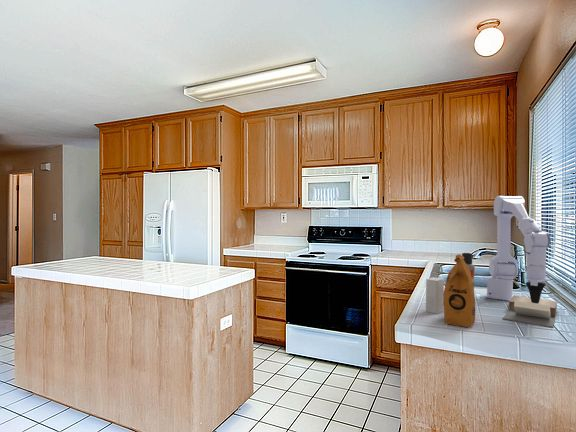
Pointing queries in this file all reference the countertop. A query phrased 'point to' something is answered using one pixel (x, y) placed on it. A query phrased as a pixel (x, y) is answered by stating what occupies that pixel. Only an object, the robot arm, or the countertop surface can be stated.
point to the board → (528, 300)
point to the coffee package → (459, 295)
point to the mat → (529, 319)
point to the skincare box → (434, 295)
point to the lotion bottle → (469, 264)
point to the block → (532, 309)
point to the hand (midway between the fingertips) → (535, 302)
